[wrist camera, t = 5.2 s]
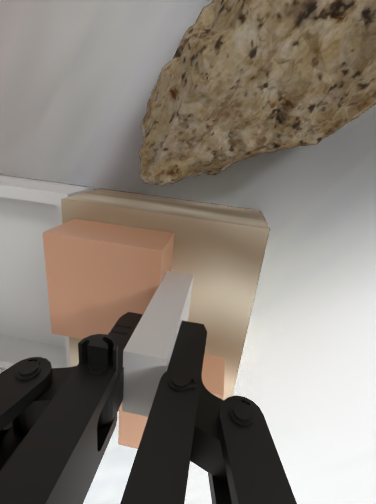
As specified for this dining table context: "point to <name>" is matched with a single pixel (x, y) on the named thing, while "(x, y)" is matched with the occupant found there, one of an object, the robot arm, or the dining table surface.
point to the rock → (258, 83)
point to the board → (194, 259)
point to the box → (28, 269)
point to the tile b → (135, 424)
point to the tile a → (101, 273)
